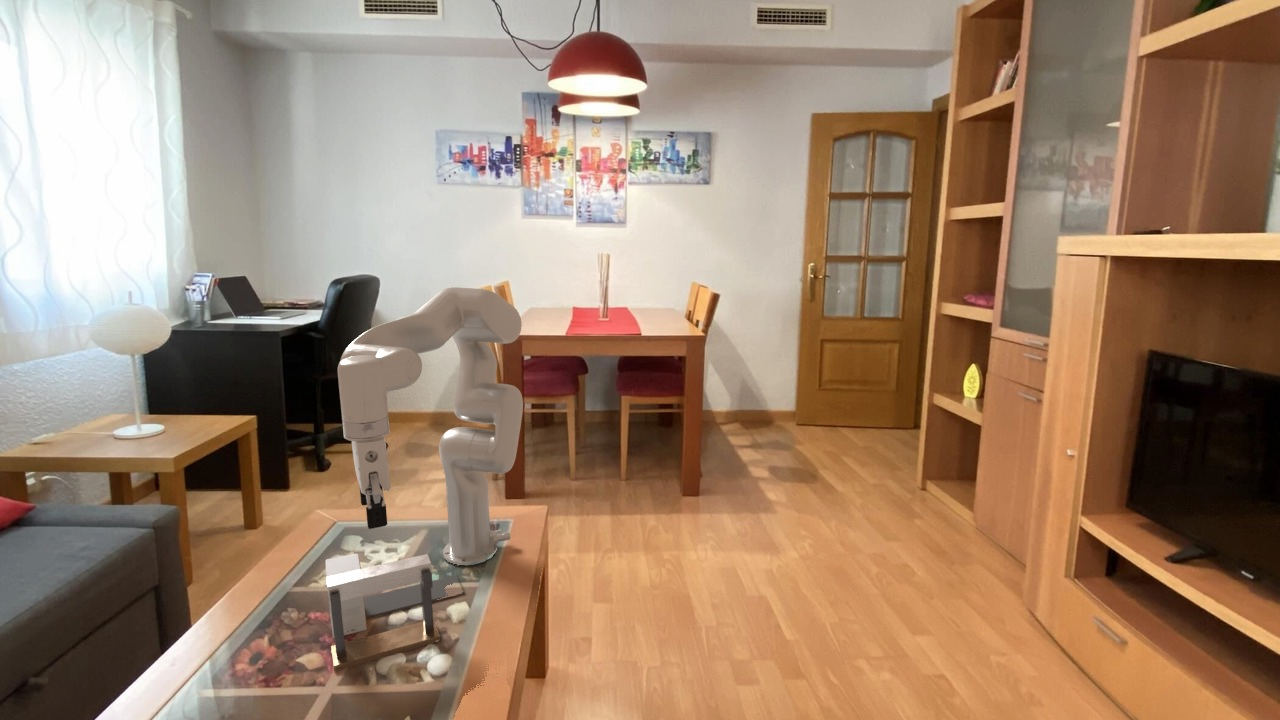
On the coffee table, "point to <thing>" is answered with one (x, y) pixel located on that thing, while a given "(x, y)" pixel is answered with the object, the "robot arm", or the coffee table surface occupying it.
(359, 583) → the rail
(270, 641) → the coffee table surface
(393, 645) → the rack
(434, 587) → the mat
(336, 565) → the small box
